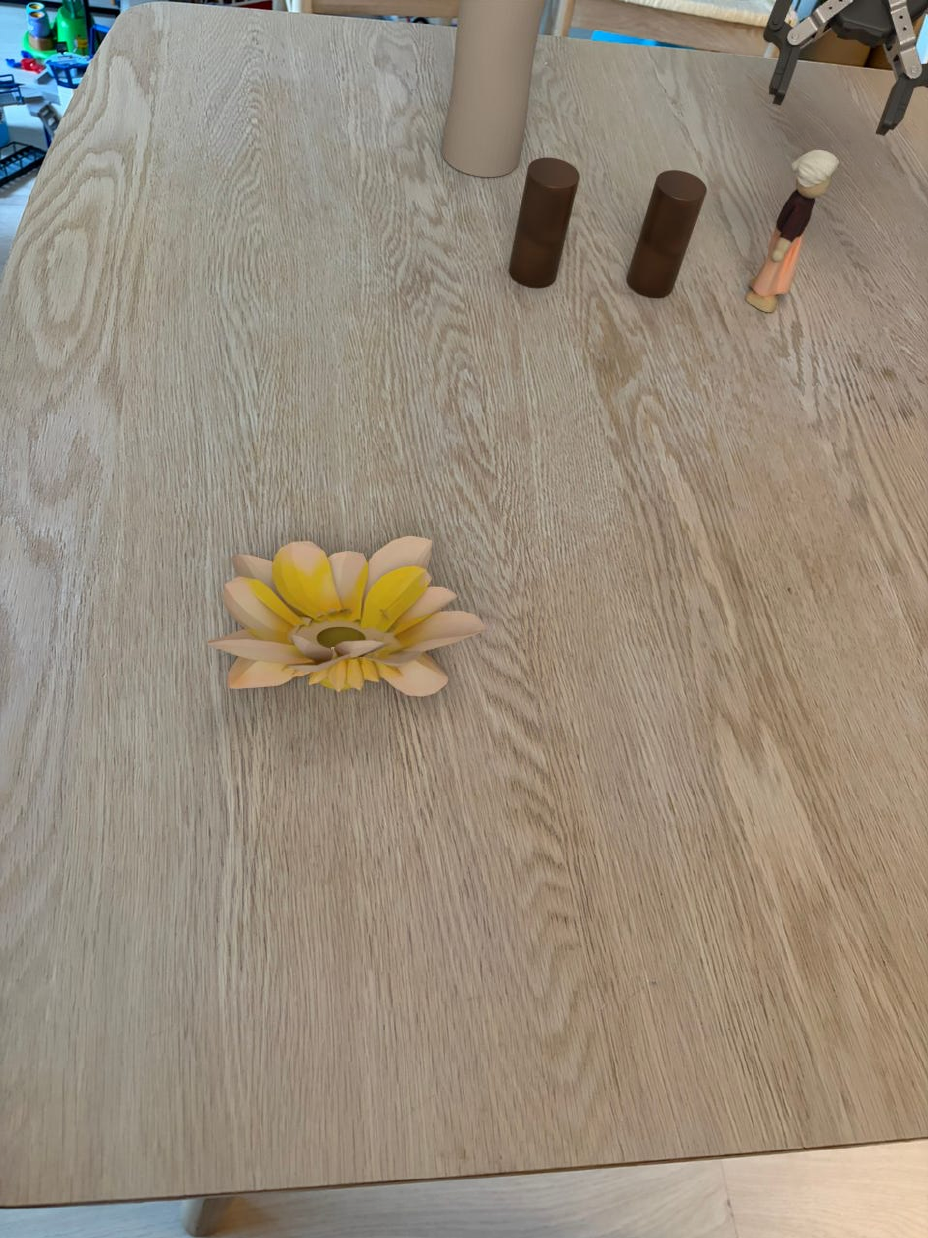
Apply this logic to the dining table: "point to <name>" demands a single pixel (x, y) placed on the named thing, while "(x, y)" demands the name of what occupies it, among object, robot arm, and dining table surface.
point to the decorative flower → (341, 618)
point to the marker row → (550, 216)
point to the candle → (491, 85)
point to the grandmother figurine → (791, 229)
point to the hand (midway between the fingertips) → (830, 116)
